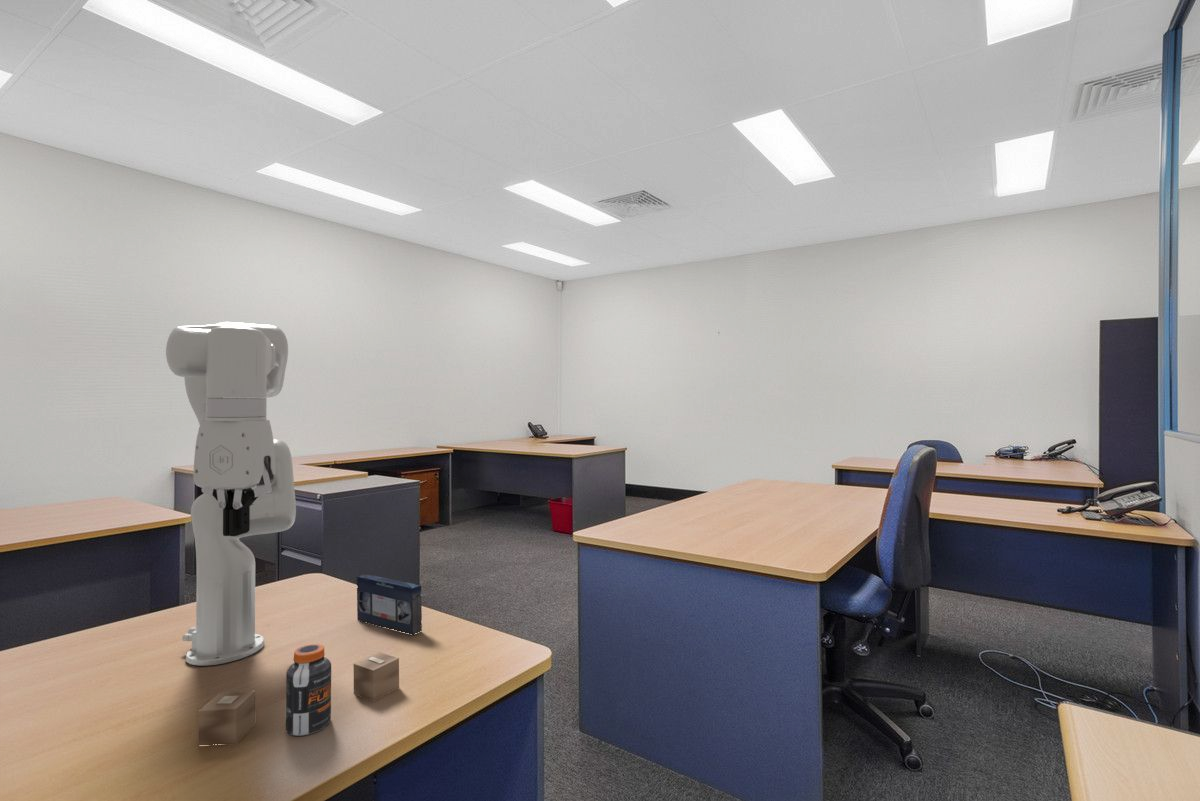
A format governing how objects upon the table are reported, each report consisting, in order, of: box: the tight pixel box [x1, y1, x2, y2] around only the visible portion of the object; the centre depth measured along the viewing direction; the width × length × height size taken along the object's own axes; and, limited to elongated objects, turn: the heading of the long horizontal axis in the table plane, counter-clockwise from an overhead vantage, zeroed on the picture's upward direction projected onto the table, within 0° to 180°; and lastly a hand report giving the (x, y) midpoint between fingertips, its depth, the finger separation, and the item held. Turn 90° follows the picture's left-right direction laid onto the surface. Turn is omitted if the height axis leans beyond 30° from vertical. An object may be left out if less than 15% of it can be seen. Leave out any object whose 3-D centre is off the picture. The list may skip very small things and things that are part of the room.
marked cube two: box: [353, 651, 400, 702], centre depth 91 cm, size 5×5×5 cm
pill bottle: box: [285, 643, 332, 737], centre depth 81 cm, size 6×6×11 cm
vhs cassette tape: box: [356, 573, 423, 636], centre depth 119 cm, size 18×3×10 cm, turn 58°
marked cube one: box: [197, 690, 256, 746], centre depth 79 cm, size 5×5×5 cm
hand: (236, 533), depth 82 cm, fingers closed
